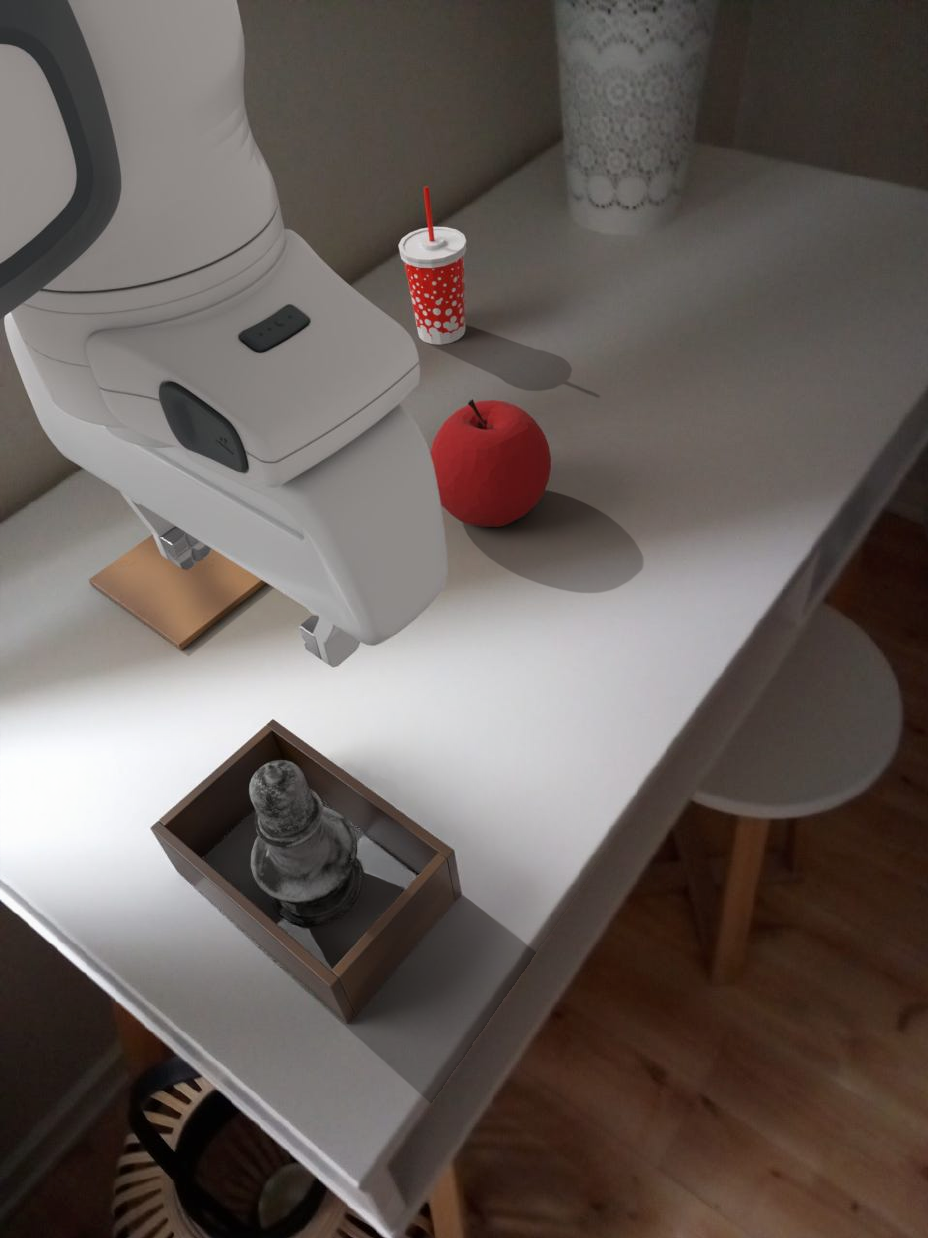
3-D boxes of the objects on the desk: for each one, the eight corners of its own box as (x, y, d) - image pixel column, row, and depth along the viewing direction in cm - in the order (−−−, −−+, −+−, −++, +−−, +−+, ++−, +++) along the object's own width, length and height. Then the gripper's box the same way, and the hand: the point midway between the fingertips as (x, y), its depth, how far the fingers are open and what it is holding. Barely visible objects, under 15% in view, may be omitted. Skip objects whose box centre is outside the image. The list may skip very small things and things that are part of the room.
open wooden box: (347, 1025, 50) (330, 987, 46) (176, 871, 57) (149, 827, 53) (462, 894, 55) (454, 850, 51) (290, 765, 61) (272, 718, 58)
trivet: (181, 650, 69) (178, 645, 68) (90, 585, 74) (87, 579, 73) (294, 561, 74) (292, 555, 73) (202, 506, 79) (200, 500, 79)
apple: (494, 564, 72) (486, 457, 64) (410, 513, 76) (393, 407, 69) (574, 500, 76) (575, 392, 69) (490, 455, 81) (482, 349, 73)
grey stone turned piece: (380, 847, 57) (346, 727, 48) (346, 942, 53) (302, 830, 44) (288, 827, 58) (239, 707, 49) (248, 918, 55) (187, 805, 46)
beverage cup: (472, 347, 91) (460, 200, 81) (408, 350, 92) (388, 205, 82) (473, 312, 96) (462, 168, 85) (412, 316, 96) (393, 173, 86)
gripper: (-85, 263, 35) (59, 545, 45) (304, 468, 25) (376, 768, 35) (62, 197, 38) (166, 474, 48) (460, 357, 28) (485, 662, 39)
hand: (258, 600), depth 42 cm, fingers open, 8 cm apart
